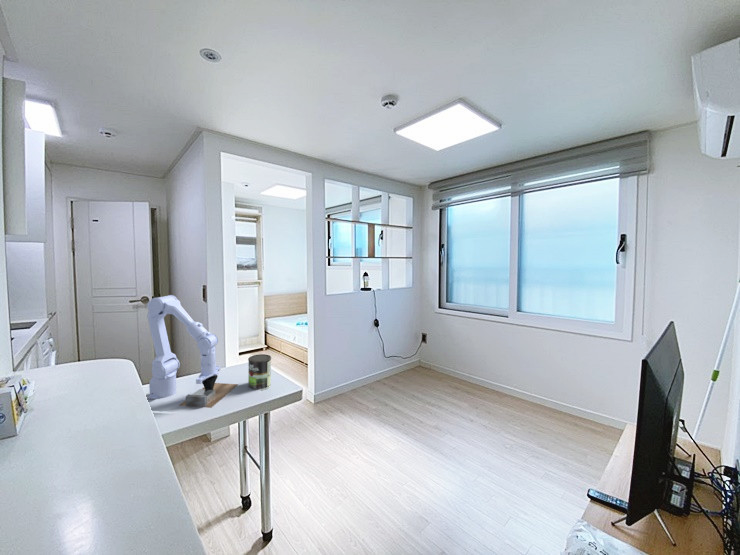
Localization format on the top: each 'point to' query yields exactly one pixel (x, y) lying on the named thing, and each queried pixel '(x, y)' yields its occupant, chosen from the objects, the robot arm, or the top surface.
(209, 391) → the block
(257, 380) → the coffee can
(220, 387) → the slide rail board
